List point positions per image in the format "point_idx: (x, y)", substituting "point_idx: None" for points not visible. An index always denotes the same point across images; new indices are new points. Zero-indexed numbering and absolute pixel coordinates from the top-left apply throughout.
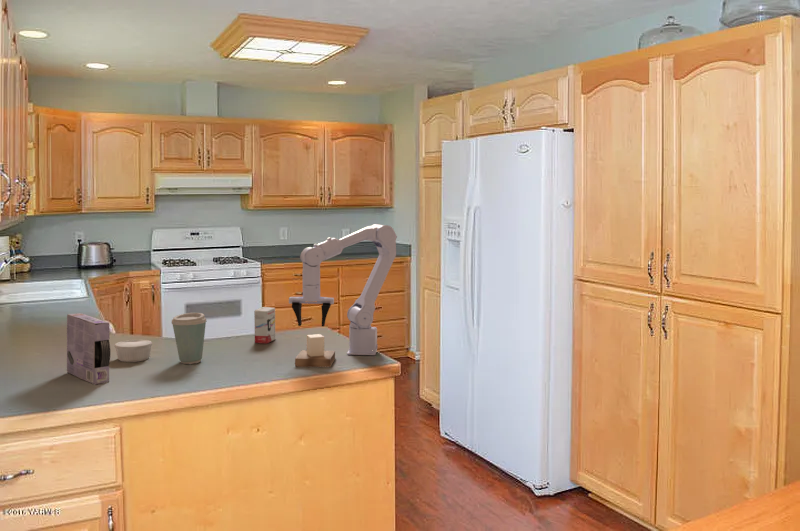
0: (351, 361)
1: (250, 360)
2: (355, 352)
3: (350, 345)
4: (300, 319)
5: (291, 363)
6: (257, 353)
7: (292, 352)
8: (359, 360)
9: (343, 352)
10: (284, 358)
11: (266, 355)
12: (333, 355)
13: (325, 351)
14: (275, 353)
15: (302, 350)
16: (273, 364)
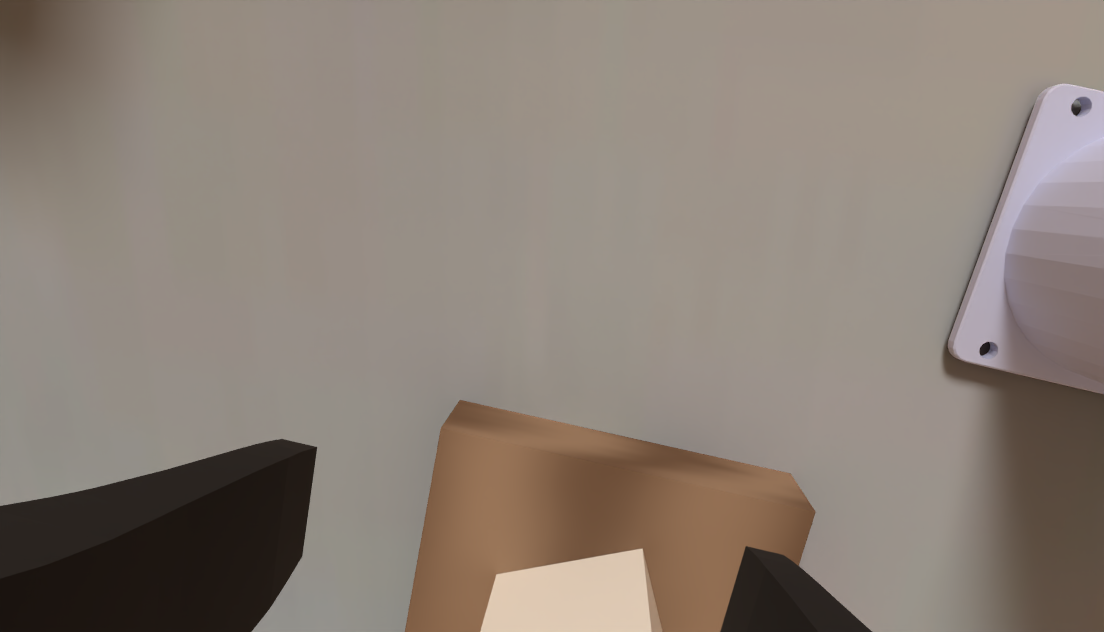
0: (934, 603)
1: (11, 433)
2: (1060, 363)
3: (1062, 319)
4: (234, 587)
5: (374, 585)
6: (16, 162)
7: (362, 156)
8: (1024, 579)
9: (928, 220)
10: (300, 402)
11: (117, 260)
12: None
13: (703, 517)
14: (192, 183)
15: (451, 437)
16: None
